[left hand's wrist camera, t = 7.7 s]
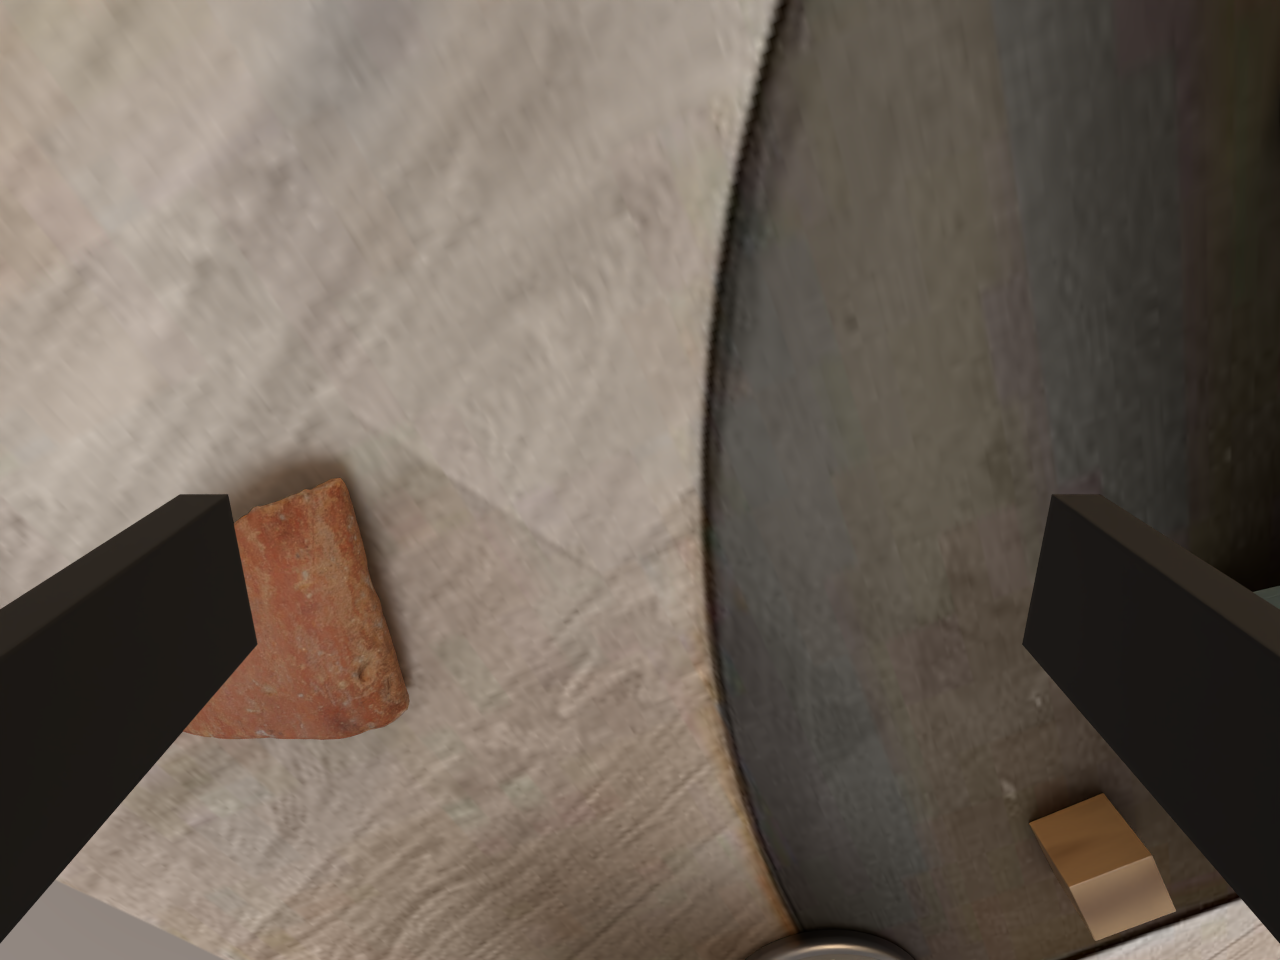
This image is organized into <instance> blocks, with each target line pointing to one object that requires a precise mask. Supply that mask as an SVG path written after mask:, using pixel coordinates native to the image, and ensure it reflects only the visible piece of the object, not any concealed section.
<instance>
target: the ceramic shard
mask: <svg viewBox="0 0 1280 960" xmlns="http://www.w3.org/2000/svg"><path fill="white" fill-rule="evenodd" d="M234 527H235V532H236V537H237V542H238V547H239V552H240V557H241V562H242V567H243V573H244V578H245V583H246V588H247V593H248V598H249V603H250V608H251V613H252V618H253V623H254V628H255V633H256V638H257V643H258V645H257V646H256V647H255V648H254V649H253V650H252V652H251V653H250V654H249V655H248V656H247V657H246V658H245V660H244V661H243V662H242V663H241V664H240V665H239V667H238V668H237V669H236V670H235V671H234V672H233V674H232V675H231V676H230V677H229V678H228V679H227V681H226V682H225V683H224V684H223V685H222V686H221V688H220V689H219V690H218V691H217V692H216V693H215V694H214V696H213V697H212V698H211V699H210V700H209V701H208V703H207V704H206V705H205V706H204V707H203V708H202V710H201V711H200V712H199V713H198V714H197V715H196V717H195V718H194V719H193V720H192V721H191V722H190V724H189V725H188V726H187V727H186V728H185V729H184V730H183V732H187V733H190V734H194V735H199V736H203V737H216V738H222V739H249V738H268V737H272V738H278V739H320V740H324V739H341V738H347V737H351V736H354V735H358V734H361V733H363V732H365V731H368V730H372V729H376V728H381V727H385V726H386V725H388V724H390V723H392V722H393V721H395V720H396V719H397V718H398V717H400V716H401V715H402V714H403V713H404V712H405V711H406V710H407V709H408V705H409V695H408V692H407V689H406V686H405V683H404V680H403V677H402V673H401V669H400V666H399V664H398V660H397V655H396V652H395V649H394V646H393V643H392V639H391V636H390V633H389V630H388V627H387V624H386V621H385V618H384V616H383V613H382V607H381V602H380V600H379V597H378V596H377V594H376V592H375V590H374V588H373V585H372V582H371V579H370V575H369V571H368V569H367V558H366V554H365V550H364V546H363V542H362V538H361V534H360V530H359V526H358V523H357V521H356V517H355V513H354V508H353V505H352V502H351V499H350V495H349V491H348V489H347V487H346V485H345V483H344V482H343V480H342V479H341V478H336V479H330V480H328V481H326V482H324V483H322V484H319V485H318V486H316V487H315V488H313V489H311V490H307V489H304V490H303V491H301V492H300V493H298V494H294V495H291V496H289V497H287V498H285V499H282V500H280V501H277V502H274V503H270V504H267V505H264V506H256V507H253V508H252V509H251V511H250V512H249V513H248V514H247V515H245V516H243V517H241V518H240V519H239V520H238V521H236V522H235V523H234Z"/></svg>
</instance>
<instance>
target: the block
mask: <svg viewBox="0 0 1280 960" xmlns="http://www.w3.org/2000/svg"><path fill="white" fill-rule="evenodd" d="M1029 824H1030V826H1031V829H1032V831H1033V833H1034V835H1035V837H1036V839H1037V841H1038V843H1039V845H1040V847H1041V849H1042V851H1043V853H1044V855H1045V857H1046V859H1047V861H1048V863H1049V865H1050V867H1051V869H1052V871H1053V873H1054V875H1055V876H1056V878H1057V880H1058V881H1059V883H1060V884H1061V886H1062V888H1063V889H1064V891H1065V893H1066V894H1067V896H1068V897H1069V899H1070V901H1071V902H1072V904H1073V906H1074V907H1075V909H1076V911H1077V912H1078V914H1079V915H1080V917H1081V919H1082V920H1083V922H1084V924H1085V925H1086V927H1087V928H1088V930H1089V932H1090V933H1091V935H1092V937H1093V938H1094V940H1095V941H1097V940H1099V939H1102V938H1105V937H1108V936H1110V935H1113V934H1116V933H1118V932H1121V931H1124V930H1126V929H1129V928H1132V927H1135V926H1137V925H1140V924H1143V923H1145V922H1148V921H1151V920H1153V919H1156V918H1159V917H1162V916H1164V915H1167V914H1170V913H1172V912H1175V911H1176V910H1175V907H1174V905H1173V903H1172V900H1171V898H1170V896H1169V893H1168V891H1167V889H1166V886H1165V884H1164V882H1163V880H1162V877H1161V875H1160V873H1159V870H1158V868H1157V866H1156V863H1155V861H1154V859H1153V856H1152V855H1151V853H1150V852H1149V851H1148V850H1147V848H1146V847H1145V846H1144V844H1143V843H1142V842H1141V841H1140V839H1139V838H1138V837H1137V835H1136V834H1135V833H1134V832H1133V830H1132V829H1131V828H1130V826H1129V825H1128V824H1127V823H1126V821H1125V820H1124V819H1123V818H1122V816H1121V815H1120V814H1119V812H1118V811H1117V810H1116V809H1115V807H1114V806H1113V805H1112V803H1111V802H1110V801H1109V800H1108V798H1107V797H1106V796H1105V795H1104V793H1102V794H1100V795H1097V796H1095V797H1092V798H1090V799H1087V800H1085V801H1082V802H1080V803H1077V804H1075V805H1072V806H1070V807H1067V808H1065V809H1062V810H1060V811H1057V812H1055V813H1052V814H1050V815H1048V816H1045V817H1043V818H1040V819H1038V820H1035V821H1033V822H1030V823H1029Z"/></svg>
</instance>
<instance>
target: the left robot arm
mask: <svg viewBox="0 0 1280 960" xmlns="http://www.w3.org/2000/svg"><path fill="white" fill-rule="evenodd" d="M257 645H258V643H257V638H256V633H255V628H254V623H253V618H252V613H251V608H250V603H249V598H248V593H247V588H246V583H245V578H244V573H243V567H242V562H241V557H240V552H239V547H238V542H237V537H236V532H235V527H234V522H233V517H232V512H231V507H230V502H229V497H228V494H180V495H178V496H177V497H175V498H174V499H172V500H171V501H169V502H167V503H166V504H164V505H163V506H161V507H160V508H158V509H157V510H155V511H153V512H152V513H150V514H149V515H147V516H146V517H144V518H142V519H141V520H139V521H138V522H136V523H135V524H133V525H131V526H130V527H128V528H127V529H125V530H124V531H122V532H121V533H119V534H117V535H116V536H114V537H113V538H111V539H110V540H108V541H106V542H105V543H103V544H102V545H100V546H99V547H97V548H96V549H94V550H92V551H91V552H89V553H88V554H86V555H85V556H83V557H81V558H80V559H78V560H77V561H75V562H74V563H72V564H70V565H69V566H67V567H66V568H64V569H63V570H61V571H60V572H58V573H56V574H55V575H53V576H52V577H50V578H49V579H47V580H45V581H44V582H42V583H41V584H39V585H38V586H36V587H35V588H33V589H31V590H30V591H28V592H27V593H25V594H24V595H22V596H20V597H19V598H17V599H16V600H14V601H13V602H11V603H9V604H8V605H6V606H5V607H3V608H2V609H0V943H1V942H2V941H3V940H4V938H5V937H6V936H7V935H8V934H9V933H10V931H11V930H12V929H13V928H14V927H15V926H16V924H17V923H18V922H19V921H20V920H21V919H22V917H23V916H24V915H25V914H26V913H27V912H28V910H29V909H30V908H31V907H32V906H33V905H34V903H35V902H36V901H37V900H38V899H39V898H40V896H41V895H42V894H43V893H44V892H45V891H46V890H47V888H48V887H49V886H50V885H51V884H52V883H53V881H54V880H55V879H56V878H57V877H58V876H59V874H60V873H61V872H62V871H63V870H64V869H65V868H66V866H67V865H68V864H69V863H70V862H71V861H72V859H73V858H74V857H75V856H76V855H77V854H78V852H79V851H80V850H81V849H82V848H83V847H84V845H85V844H86V843H87V842H88V841H89V840H90V838H91V837H92V836H93V835H94V834H95V833H96V832H97V830H98V829H99V828H100V827H101V826H102V825H103V823H104V822H105V821H106V820H107V819H108V818H109V816H110V815H111V814H112V813H113V812H114V811H115V809H116V808H117V807H118V806H119V805H120V804H121V802H122V801H123V800H124V799H125V798H126V797H127V796H128V794H129V793H130V792H131V791H132V790H133V789H134V787H135V786H136V785H137V784H138V783H139V782H140V780H141V779H142V778H143V777H144V776H145V775H146V773H147V772H148V771H149V770H150V769H151V768H152V766H153V765H154V764H155V763H156V762H157V761H158V760H159V758H160V757H161V756H162V755H163V754H164V753H165V751H166V750H167V749H168V748H169V747H170V746H171V744H172V743H173V742H174V741H175V740H176V739H177V737H178V736H179V735H180V734H181V733H182V732H183V730H184V729H185V728H186V727H187V726H188V725H189V724H190V722H191V721H192V720H193V719H194V718H195V717H196V715H197V714H198V713H199V712H200V711H201V710H202V708H203V707H204V706H205V705H206V704H207V703H208V701H209V700H210V699H211V698H212V697H213V696H214V694H215V693H216V692H217V691H218V690H219V689H220V688H221V686H222V685H223V684H224V683H225V682H226V681H227V679H228V678H229V677H230V676H231V675H232V674H233V672H234V671H235V670H236V669H237V668H238V667H239V665H240V664H241V663H242V662H243V661H244V660H245V658H246V657H247V656H248V655H249V654H250V653H251V652H252V650H253V649H254V648H255V647H256V646H257ZM1022 645H1023V646H1024V647H1025V648H1026V649H1027V650H1028V652H1029V653H1030V654H1031V655H1032V656H1033V657H1034V658H1035V660H1036V661H1037V662H1038V663H1039V664H1040V665H1041V667H1042V668H1043V669H1044V670H1045V671H1046V672H1047V674H1048V675H1049V676H1050V677H1051V678H1052V679H1053V681H1054V682H1055V683H1056V684H1057V685H1058V686H1059V688H1060V689H1061V690H1062V691H1063V692H1064V693H1065V694H1066V696H1067V697H1068V698H1069V699H1070V700H1071V701H1072V703H1073V704H1074V705H1075V706H1076V707H1077V708H1078V710H1079V711H1080V712H1081V713H1082V714H1083V715H1084V717H1085V718H1086V719H1087V720H1088V721H1089V722H1090V724H1091V725H1092V726H1093V727H1094V728H1095V729H1096V730H1097V732H1098V733H1099V734H1100V735H1101V736H1102V737H1103V739H1104V740H1105V741H1106V742H1107V743H1108V744H1109V746H1110V747H1111V748H1112V749H1113V750H1114V751H1115V753H1116V754H1117V755H1118V756H1119V757H1120V758H1121V760H1122V761H1123V762H1124V763H1125V764H1126V765H1127V766H1128V768H1129V769H1130V770H1131V771H1132V772H1133V773H1134V775H1135V776H1136V777H1137V778H1138V779H1139V780H1140V782H1141V783H1142V784H1143V785H1144V786H1145V787H1146V789H1147V790H1148V791H1149V792H1150V793H1151V794H1152V796H1153V797H1154V798H1155V799H1156V800H1157V801H1158V802H1159V804H1160V805H1161V806H1162V807H1163V808H1164V809H1165V811H1166V812H1167V813H1168V814H1169V815H1170V816H1171V818H1172V819H1173V820H1174V821H1175V822H1176V823H1177V825H1178V826H1179V827H1180V828H1181V829H1182V830H1183V832H1184V833H1185V834H1186V835H1187V836H1188V837H1189V838H1190V840H1191V841H1192V842H1193V843H1194V844H1195V845H1196V847H1197V848H1198V849H1199V850H1200V851H1201V852H1202V854H1203V855H1204V856H1205V857H1206V858H1207V859H1208V861H1209V862H1210V863H1211V864H1212V865H1213V866H1214V868H1215V869H1216V870H1217V871H1218V872H1219V873H1220V874H1221V876H1222V877H1223V878H1224V879H1225V880H1226V881H1227V883H1228V884H1229V885H1230V886H1231V887H1232V888H1233V890H1234V891H1235V892H1236V893H1237V894H1238V895H1239V897H1240V898H1241V899H1242V900H1243V901H1244V902H1245V904H1246V905H1247V906H1248V907H1249V908H1250V909H1251V910H1252V912H1253V913H1254V914H1255V915H1256V916H1257V917H1258V919H1259V920H1260V921H1261V922H1262V923H1263V924H1264V926H1265V927H1266V928H1267V929H1268V930H1269V931H1270V933H1271V934H1272V935H1273V936H1274V937H1275V938H1276V940H1277V941H1278V942H1279V943H1280V609H1278V608H1277V607H1275V606H1274V605H1272V604H1271V603H1269V602H1267V601H1266V600H1264V599H1263V598H1261V597H1260V596H1258V595H1256V594H1255V593H1253V592H1252V591H1250V590H1249V589H1247V588H1245V587H1244V586H1242V585H1241V584H1239V583H1238V582H1236V581H1235V580H1233V579H1231V578H1230V577H1228V576H1227V575H1225V574H1224V573H1222V572H1220V571H1219V570H1217V569H1216V568H1214V567H1213V566H1211V565H1210V564H1208V563H1206V562H1205V561H1203V560H1202V559H1200V558H1199V557H1197V556H1195V555H1194V554H1192V553H1191V552H1189V551H1188V550H1186V549H1184V548H1183V547H1181V546H1180V545H1178V544H1177V543H1175V542H1174V541H1172V540H1170V539H1169V538H1167V537H1166V536H1164V535H1163V534H1161V533H1159V532H1158V531H1156V530H1155V529H1153V528H1152V527H1150V526H1149V525H1147V524H1145V523H1144V522H1142V521H1141V520H1139V519H1138V518H1136V517H1134V516H1133V515H1131V514H1130V513H1128V512H1127V511H1125V510H1123V509H1122V508H1120V507H1119V506H1117V505H1116V504H1114V503H1113V502H1111V501H1109V500H1108V499H1106V498H1105V497H1103V496H1102V495H1100V494H1052V497H1051V502H1050V507H1049V512H1048V517H1047V522H1046V527H1045V532H1044V537H1043V542H1042V547H1041V552H1040V557H1039V562H1038V567H1037V573H1036V578H1035V583H1034V588H1033V593H1032V598H1031V603H1030V608H1029V613H1028V618H1027V623H1026V628H1025V633H1024V638H1023V643H1022ZM745 960H914V959H913V958H912V957H911V956H910V955H909V954H908V953H907V952H905V951H904V950H903V949H901V948H900V947H898V946H897V945H895V944H893V943H891V942H889V941H887V940H885V939H882V938H880V937H877V936H874V935H870V934H867V933H862V932H857V931H849V930H817V931H809V932H804V933H799V934H795V935H791V936H788V937H785V938H782V939H779V940H777V941H775V942H772V943H770V944H768V945H766V946H764V947H762V948H761V949H759V950H758V951H756V952H754V953H753V954H752V955H750V956H749V957H748V958H746V959H745Z"/></svg>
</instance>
